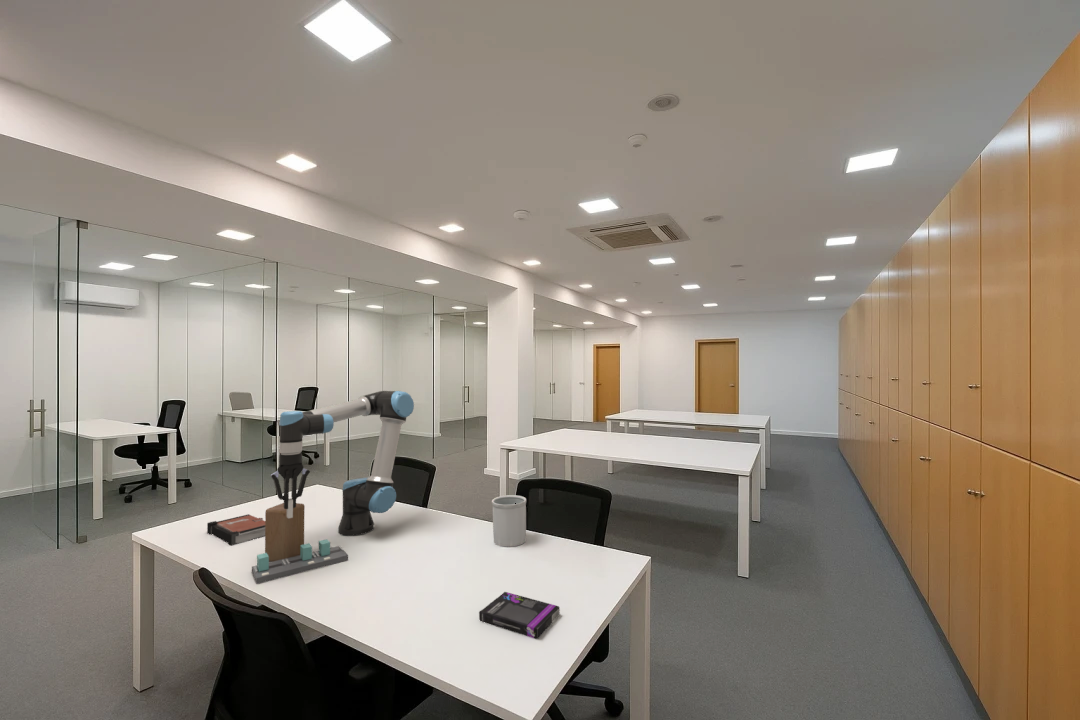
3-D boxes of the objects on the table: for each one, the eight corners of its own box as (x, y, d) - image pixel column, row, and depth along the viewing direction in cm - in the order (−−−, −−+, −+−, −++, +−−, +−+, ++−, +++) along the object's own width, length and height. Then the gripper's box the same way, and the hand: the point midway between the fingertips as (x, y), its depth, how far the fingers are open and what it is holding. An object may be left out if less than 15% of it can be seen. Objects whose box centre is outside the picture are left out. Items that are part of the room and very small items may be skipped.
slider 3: (326, 550, 176) (327, 539, 176) (330, 554, 172) (330, 542, 172) (318, 552, 174) (318, 540, 174) (321, 556, 170) (321, 544, 170)
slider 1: (266, 565, 163) (266, 552, 163) (268, 569, 159) (268, 556, 159) (256, 567, 161) (257, 554, 161) (258, 571, 157) (258, 558, 157)
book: (275, 534, 201) (275, 523, 201) (231, 546, 187) (231, 534, 187) (250, 523, 216) (250, 512, 217) (207, 534, 202) (207, 522, 202)
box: (559, 618, 132) (504, 600, 142) (560, 606, 133) (504, 589, 142) (536, 642, 120) (478, 621, 130) (537, 629, 120) (478, 609, 130)
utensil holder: (485, 544, 187) (485, 502, 187) (501, 532, 201) (501, 493, 201) (517, 549, 181) (517, 506, 182) (532, 537, 195) (531, 496, 195)
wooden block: (286, 564, 169) (286, 510, 169) (263, 561, 171) (264, 509, 171) (305, 553, 179) (305, 502, 179) (283, 551, 181) (284, 501, 181)
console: (339, 550, 181) (339, 544, 181) (348, 560, 172) (348, 553, 172) (251, 572, 162) (251, 564, 162) (256, 584, 153) (256, 576, 153)
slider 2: (309, 555, 172) (309, 543, 172) (311, 558, 168) (312, 546, 168) (300, 557, 170) (300, 545, 170) (303, 560, 166) (303, 548, 166)
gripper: (307, 449, 174) (306, 511, 173) (268, 453, 165) (267, 518, 164) (312, 452, 168) (311, 516, 167) (272, 456, 159) (271, 523, 159)
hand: (289, 517), depth 166 cm, fingers closed
